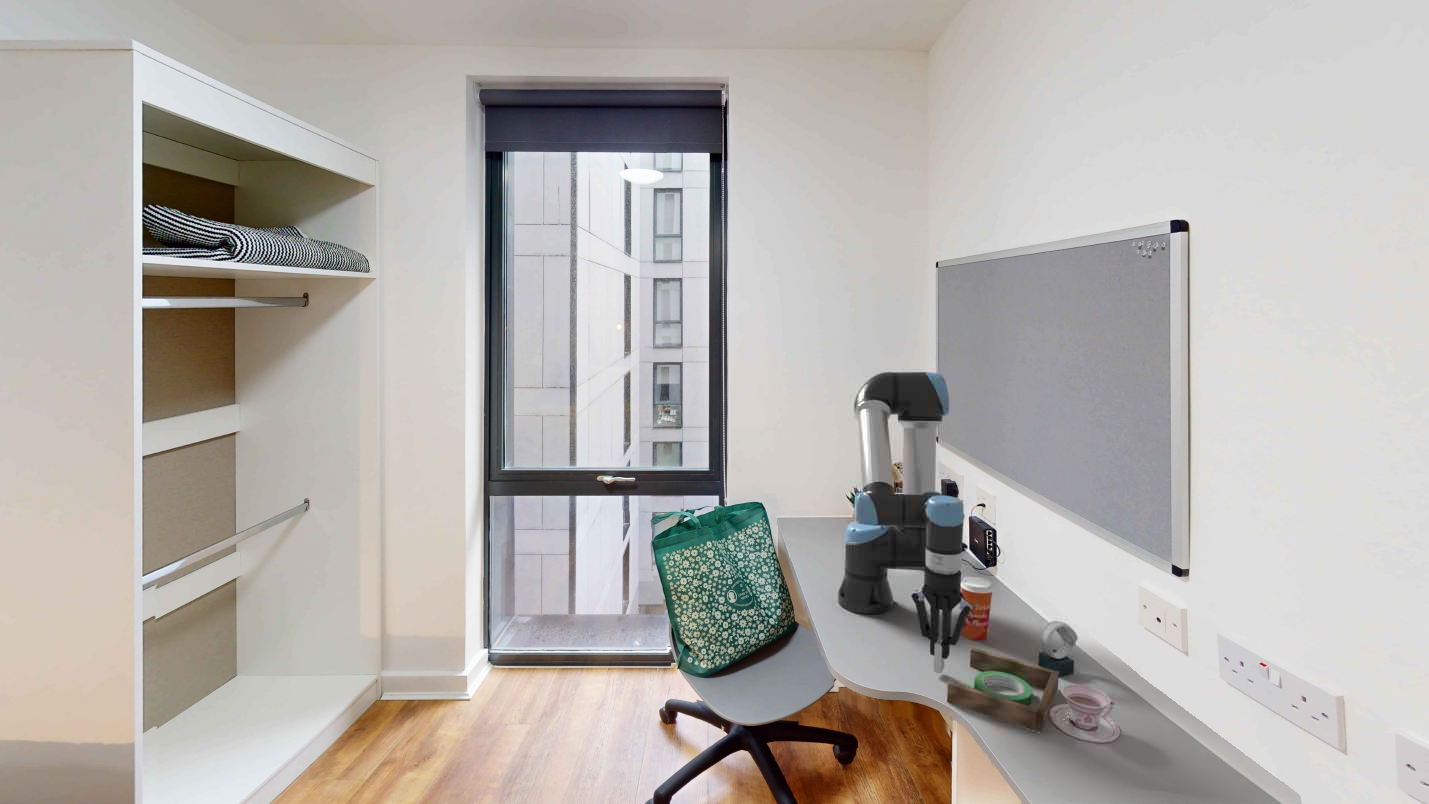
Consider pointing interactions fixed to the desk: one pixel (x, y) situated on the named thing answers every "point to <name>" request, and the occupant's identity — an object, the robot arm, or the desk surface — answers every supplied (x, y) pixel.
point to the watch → (1059, 658)
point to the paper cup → (977, 607)
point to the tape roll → (1004, 680)
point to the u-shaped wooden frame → (1002, 706)
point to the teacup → (1085, 714)
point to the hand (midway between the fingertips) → (938, 669)
